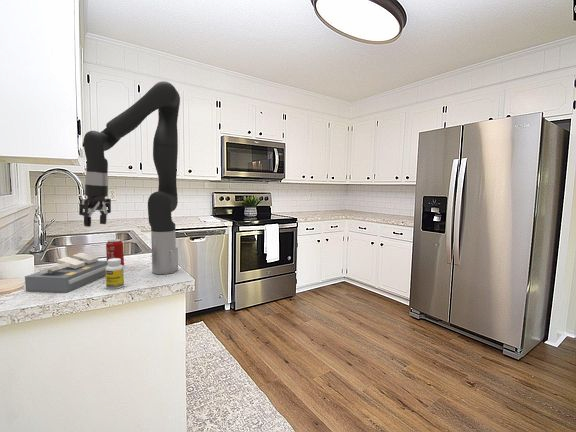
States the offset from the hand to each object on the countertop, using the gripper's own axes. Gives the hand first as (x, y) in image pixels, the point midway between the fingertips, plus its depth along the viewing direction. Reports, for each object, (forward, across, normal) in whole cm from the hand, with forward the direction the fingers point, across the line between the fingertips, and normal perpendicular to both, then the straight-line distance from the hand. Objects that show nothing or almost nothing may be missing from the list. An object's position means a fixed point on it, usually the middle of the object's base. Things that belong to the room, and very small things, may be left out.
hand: (95, 225), depth 116 cm
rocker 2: (+14, -10, +1) cm, 17 cm away
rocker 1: (+14, -17, +1) cm, 22 cm away
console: (+20, -10, +1) cm, 22 cm away
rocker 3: (+14, -3, +2) cm, 15 cm away
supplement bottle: (+19, -14, -18) cm, 30 cm away
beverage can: (+20, +9, -3) cm, 22 cm away
